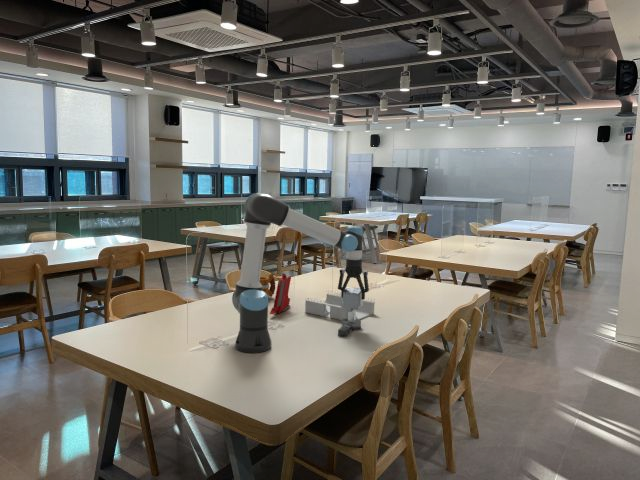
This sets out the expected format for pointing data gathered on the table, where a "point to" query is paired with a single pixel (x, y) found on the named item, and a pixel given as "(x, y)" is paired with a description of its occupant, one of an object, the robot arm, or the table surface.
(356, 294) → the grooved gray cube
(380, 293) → the table surface
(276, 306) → the tool
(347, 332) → the ratchet
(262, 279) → the mug
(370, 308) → the skate ramp
